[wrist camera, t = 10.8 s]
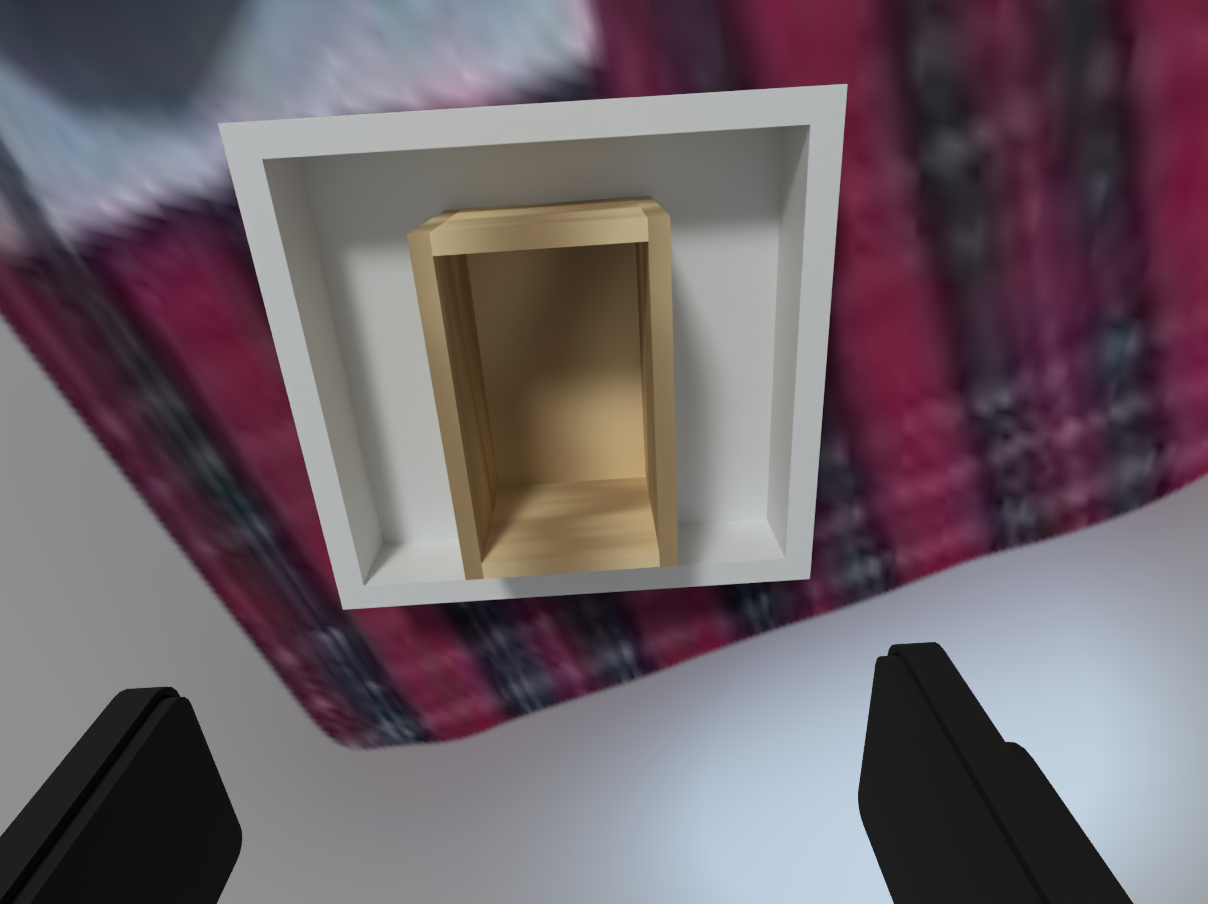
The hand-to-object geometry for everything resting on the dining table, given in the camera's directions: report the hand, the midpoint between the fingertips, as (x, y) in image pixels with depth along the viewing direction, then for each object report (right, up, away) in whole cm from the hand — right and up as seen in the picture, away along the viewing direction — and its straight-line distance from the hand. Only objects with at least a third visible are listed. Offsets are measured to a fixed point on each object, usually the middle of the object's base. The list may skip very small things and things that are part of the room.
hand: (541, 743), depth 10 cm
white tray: (-1, +8, +18) cm, 19 cm away
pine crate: (-1, +8, +17) cm, 18 cm away
